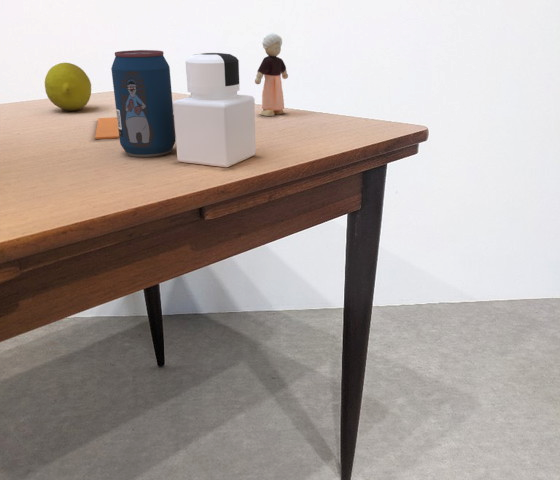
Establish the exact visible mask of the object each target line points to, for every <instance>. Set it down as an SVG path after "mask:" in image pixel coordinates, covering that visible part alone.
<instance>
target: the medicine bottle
mask: <svg viewBox="0 0 560 480" xmlns="http://www.w3.org/2000/svg"><path fill="white" fill-rule="evenodd" d="M185 73H186V85H187V86H186V87H187V92H188V93H190V96H187V97H182V98H179V99H175V100H173V101H172V103H173V115H174V124H175V139H176V141H175V147H176V149H175V150H176V158H177V161H178V162H179V163H185V164H194V165H204V166H212V167H221V168H229V167H232V166H233V165H236V164H239V163H240V162H242V161H244V160H247V159H249V158H251V157H254V156H255V155H256V153H257V149H256V148H257V145H256V144H257V143H256V109H255V108H256V107H255V104H256V103H255V97H254V96H252V95H247V94H238V92H239V91H240V90H241V87H240V60H239V59H238V57H236V56H235V55H233V54H230V53H225V52H224V53H223V52H203V53H195V54H192V55H191V56H189V57H187V58H186V60H185Z"/></svg>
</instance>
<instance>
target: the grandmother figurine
mask: <svg viewBox="0 0 560 480" xmlns="http://www.w3.org/2000/svg"><path fill="white" fill-rule="evenodd" d="M261 43H262V48H263V49H264V51H265V53H266V55H267V56H265V57H263V59H262V61H261V63H260V65H259V67H258V69H257V73H256V75H255V79H254V83H255V84H256V85H261V83H262V79H263V77H264V82H263V87H262V94H261V109H262V110H261V112H260V116H264V117H273V116H275V115H282V114H284V113H285V112H284V110H285V99H284V92H283V83H282V79H283V80H287V79H288V78H289V74H288V71H287V67H286V64H285V62H284V60H283V59H282V58H280V57H279V55H280V53H281V51H282V50H281V49H282V46H283V38H282V37H281V36H280V35H278V34H277V33H274V32H271V33H269V34H267V35H266V36H265V37H263V40H262V42H261Z"/></svg>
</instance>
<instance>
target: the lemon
mask: <svg viewBox="0 0 560 480" xmlns="http://www.w3.org/2000/svg"><path fill="white" fill-rule="evenodd" d="M44 89H45V94H46V96H47V98H48V100H49V101H50V102H51V103H52V104H53V105H54V106H56V107H57V108H58V109H59V108H60V109H62V110H65V111H70V112H71V111H72V112H73V111H78V110H81V109H83V108H84V107H85V106H87V104H88V103H89V101H90V100H91V99H90V98H91V96H92V83H91V80H90V77H89V76H88V74H87V73H86V72H85V70H84V69H83V68H81V67H80V66H79V65H76V64H74V63H71V62H60V63H57V64H55V65H53V66H51V68H50V69H48V71H47V73H46V76H45V77H44Z"/></svg>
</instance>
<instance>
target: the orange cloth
mask: <svg viewBox="0 0 560 480" xmlns="http://www.w3.org/2000/svg"><path fill="white" fill-rule="evenodd" d="M174 127H175V124H174ZM110 139H120V138H119V130H118V121H117V116H115V117H113V116H112V117H98V119H97V124H96V129H95V135H94V140H110Z"/></svg>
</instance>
